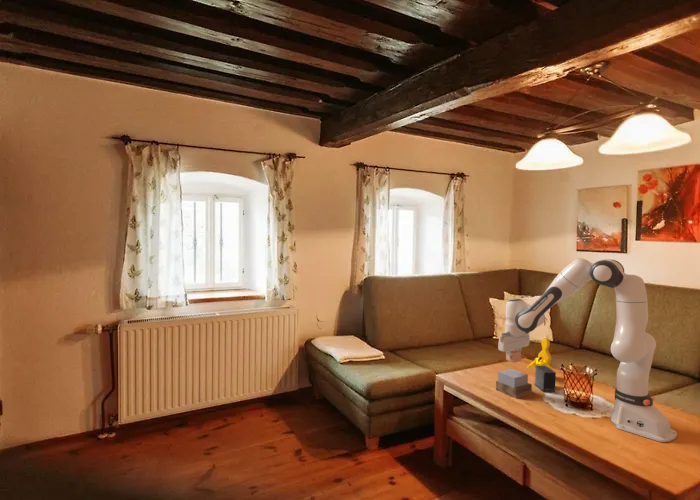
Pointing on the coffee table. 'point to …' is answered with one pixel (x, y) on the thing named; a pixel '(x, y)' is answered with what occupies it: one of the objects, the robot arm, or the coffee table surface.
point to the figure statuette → (542, 355)
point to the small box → (545, 378)
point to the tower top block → (513, 378)
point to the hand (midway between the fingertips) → (513, 357)
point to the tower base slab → (514, 389)
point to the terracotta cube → (514, 356)
